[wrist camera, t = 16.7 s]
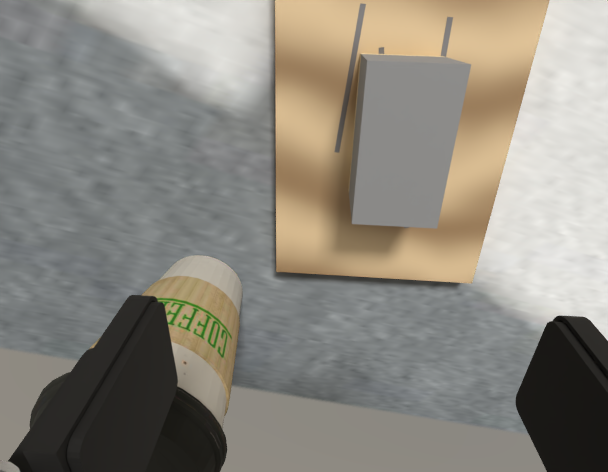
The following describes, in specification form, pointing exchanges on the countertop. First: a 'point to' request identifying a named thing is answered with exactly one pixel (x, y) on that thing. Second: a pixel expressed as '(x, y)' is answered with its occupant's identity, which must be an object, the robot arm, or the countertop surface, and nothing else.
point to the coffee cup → (192, 363)
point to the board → (341, 115)
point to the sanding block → (404, 137)
